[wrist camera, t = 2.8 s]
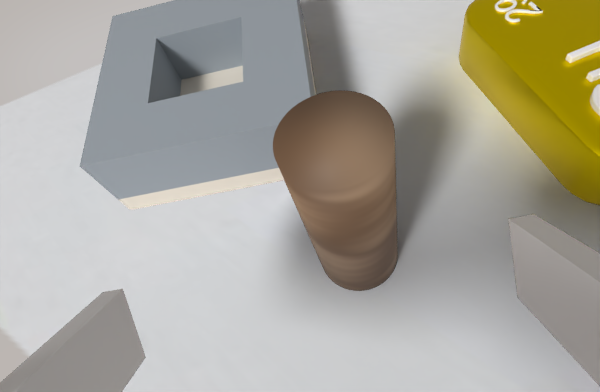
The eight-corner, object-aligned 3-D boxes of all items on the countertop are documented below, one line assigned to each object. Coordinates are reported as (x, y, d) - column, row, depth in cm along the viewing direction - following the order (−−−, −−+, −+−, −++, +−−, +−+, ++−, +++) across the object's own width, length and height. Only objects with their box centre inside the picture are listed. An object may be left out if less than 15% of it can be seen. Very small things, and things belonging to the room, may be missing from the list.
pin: (388, 213, 25) (381, 79, 16) (405, 284, 23) (407, 175, 14) (316, 226, 26) (269, 104, 17) (325, 296, 24) (276, 199, 14)
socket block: (306, 32, 35) (292, -31, 30) (328, 171, 28) (313, 116, 23) (149, 70, 37) (112, 16, 32) (130, 210, 30) (79, 166, 25)
